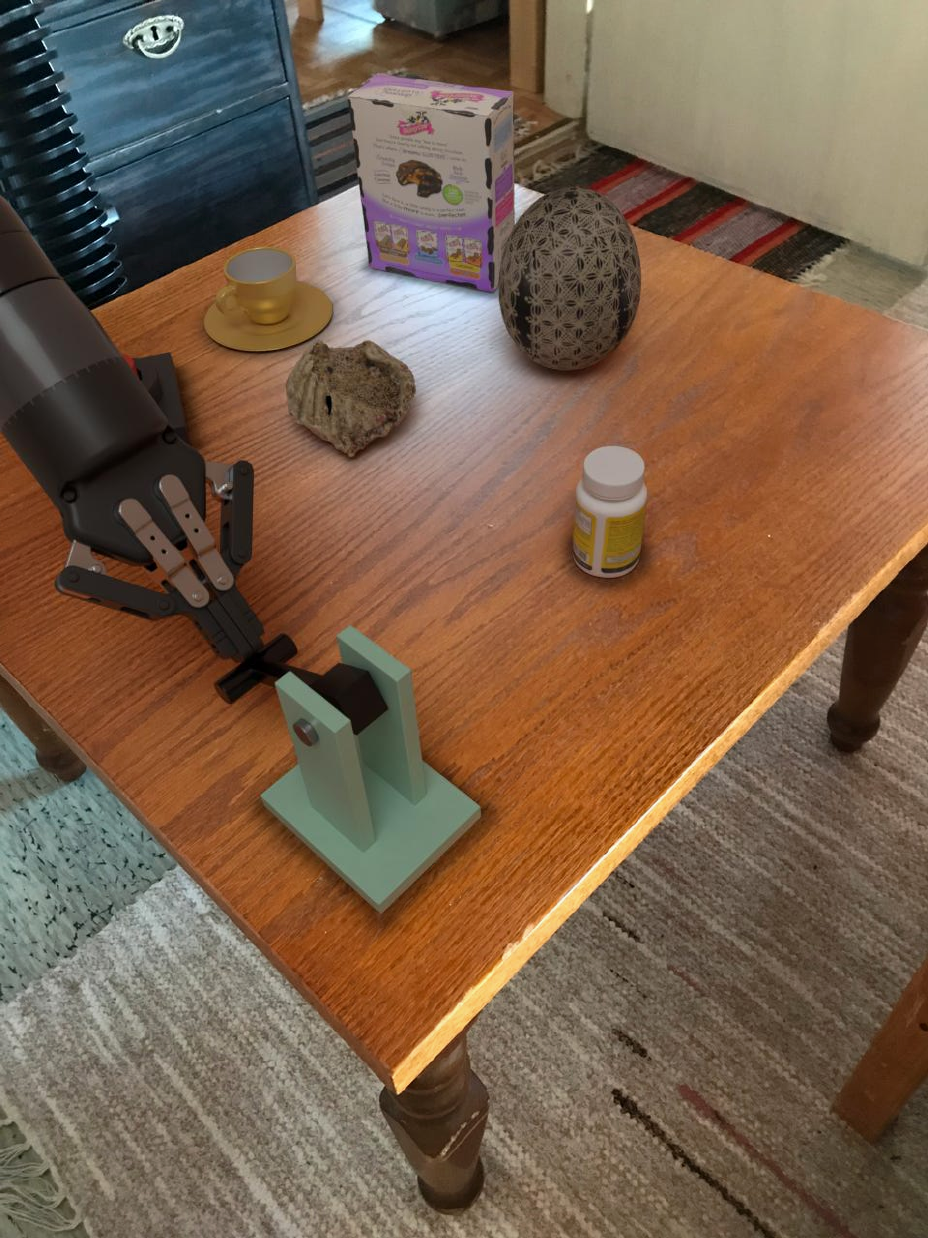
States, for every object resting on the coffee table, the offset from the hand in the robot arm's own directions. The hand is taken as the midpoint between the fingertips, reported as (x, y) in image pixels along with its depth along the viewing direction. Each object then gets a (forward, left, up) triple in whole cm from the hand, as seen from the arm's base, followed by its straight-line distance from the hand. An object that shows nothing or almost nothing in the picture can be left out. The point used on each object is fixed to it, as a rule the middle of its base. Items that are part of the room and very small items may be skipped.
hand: (250, 654), depth 56 cm
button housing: (-20, +30, -7) cm, 37 cm away
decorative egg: (+16, +41, -7) cm, 45 cm away
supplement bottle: (+20, +17, -7) cm, 27 cm away
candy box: (+3, +56, -7) cm, 56 cm away
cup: (-12, +46, -7) cm, 48 cm away
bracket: (+7, -5, -7) cm, 11 cm away
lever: (+4, -3, 0) cm, 5 cm away
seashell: (-1, +31, -7) cm, 32 cm away
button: (-20, +30, -4) cm, 36 cm away
